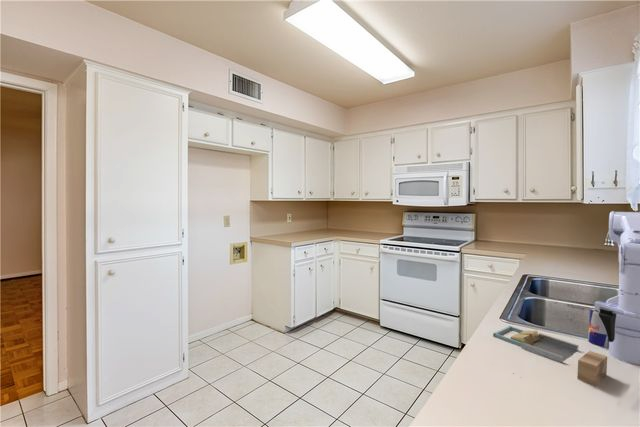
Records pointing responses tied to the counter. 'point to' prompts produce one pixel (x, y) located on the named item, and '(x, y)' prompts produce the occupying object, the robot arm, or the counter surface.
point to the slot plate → (551, 348)
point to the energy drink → (597, 330)
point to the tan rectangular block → (592, 368)
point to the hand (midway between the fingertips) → (632, 346)
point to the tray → (498, 335)
